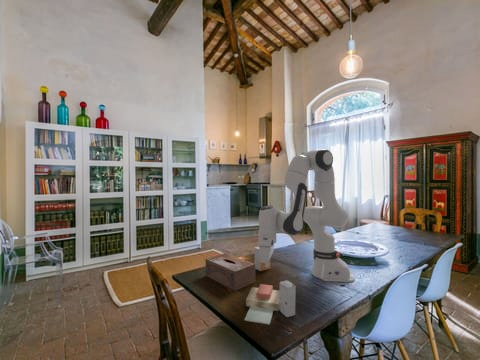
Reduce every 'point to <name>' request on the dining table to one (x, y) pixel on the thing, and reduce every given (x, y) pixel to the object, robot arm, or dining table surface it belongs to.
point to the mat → (259, 315)
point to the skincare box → (287, 298)
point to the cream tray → (263, 300)
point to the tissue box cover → (230, 271)
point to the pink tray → (264, 291)
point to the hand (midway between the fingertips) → (267, 266)
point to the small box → (258, 264)
